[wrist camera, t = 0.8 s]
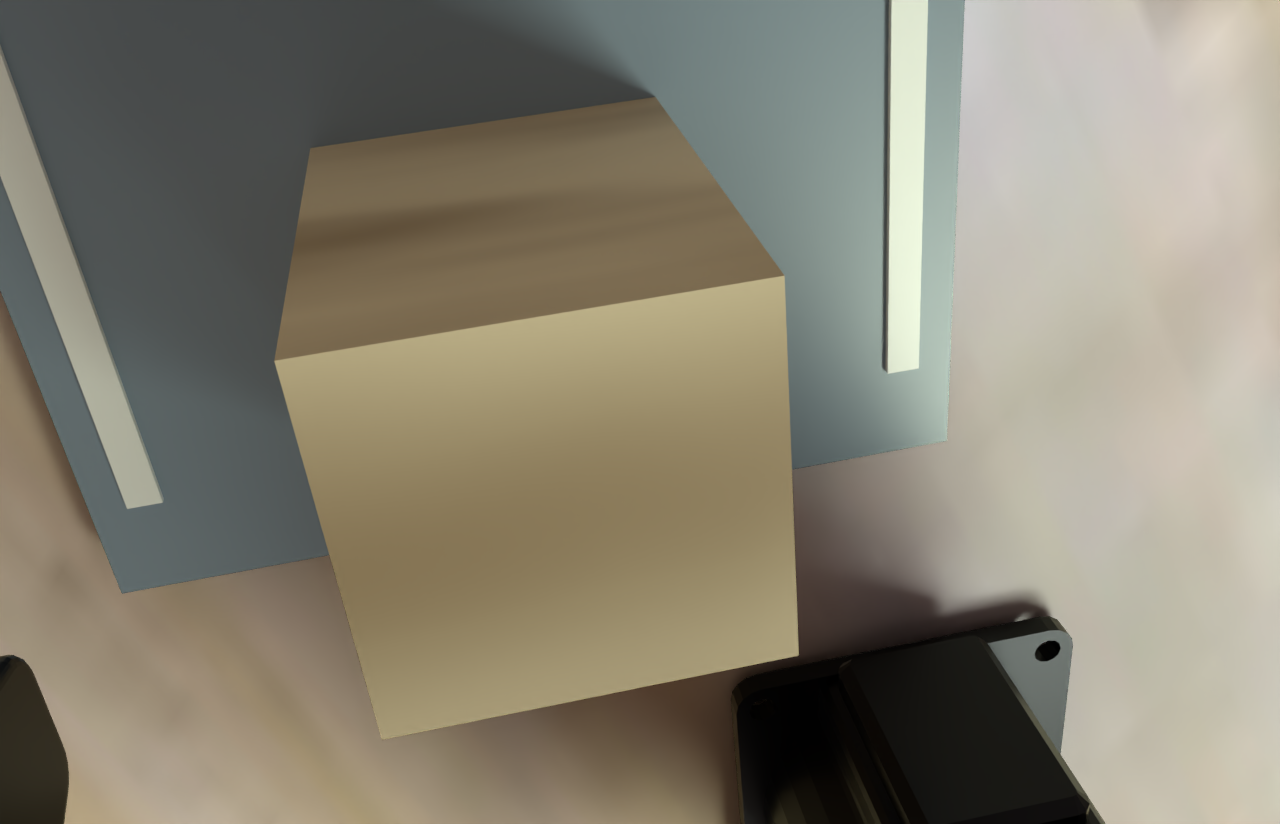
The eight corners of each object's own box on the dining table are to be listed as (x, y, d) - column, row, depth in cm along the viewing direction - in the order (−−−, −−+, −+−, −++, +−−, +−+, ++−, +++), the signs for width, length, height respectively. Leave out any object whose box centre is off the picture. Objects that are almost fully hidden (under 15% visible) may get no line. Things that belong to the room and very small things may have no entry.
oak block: (681, 392, 18) (798, 656, 13) (381, 445, 18) (381, 739, 13) (655, 96, 16) (784, 275, 11) (310, 148, 15) (273, 361, 10)
